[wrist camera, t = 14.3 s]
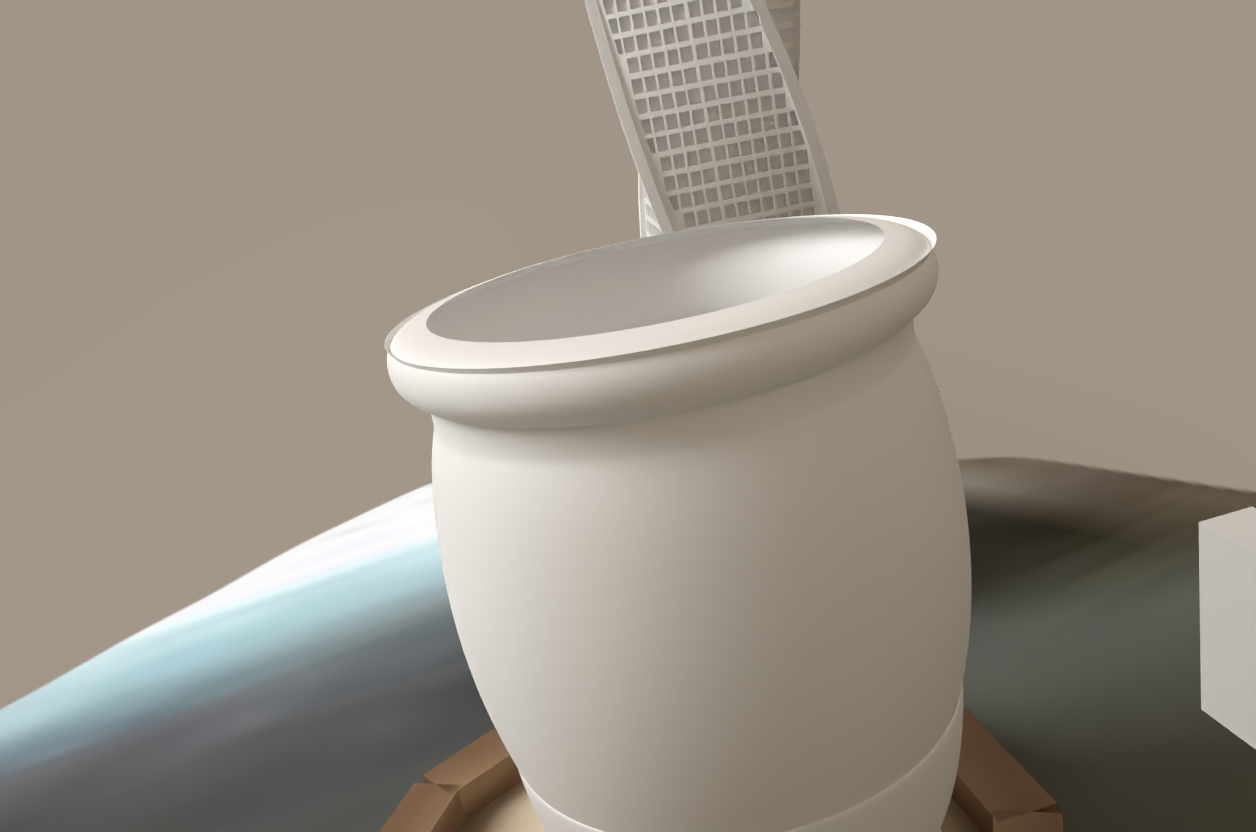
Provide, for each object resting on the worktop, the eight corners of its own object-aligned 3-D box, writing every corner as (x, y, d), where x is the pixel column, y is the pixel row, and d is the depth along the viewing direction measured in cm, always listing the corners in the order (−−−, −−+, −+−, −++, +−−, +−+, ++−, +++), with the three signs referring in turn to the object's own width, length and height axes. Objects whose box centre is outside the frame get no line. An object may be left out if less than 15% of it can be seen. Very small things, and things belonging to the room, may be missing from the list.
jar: (843, 708, 31) (764, 197, 27) (1118, 944, 22) (1070, 222, 18) (499, 857, 28) (342, 307, 24) (651, 1205, 19) (440, 409, 14)
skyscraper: (885, 540, 44) (785, -235, 35) (934, 645, 36) (821, -314, 27) (680, 573, 44) (531, -177, 36) (685, 683, 37) (496, -239, 28)
